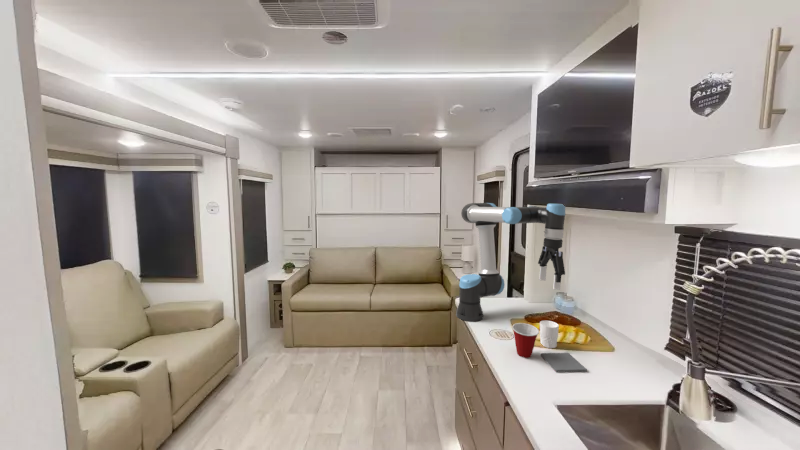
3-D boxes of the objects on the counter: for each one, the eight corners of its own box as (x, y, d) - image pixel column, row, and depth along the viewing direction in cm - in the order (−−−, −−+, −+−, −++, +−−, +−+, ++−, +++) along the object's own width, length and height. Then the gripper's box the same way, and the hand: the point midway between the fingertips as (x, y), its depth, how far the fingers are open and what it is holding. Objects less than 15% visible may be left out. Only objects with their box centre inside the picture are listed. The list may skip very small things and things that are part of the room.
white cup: (547, 350, 139) (548, 328, 138) (535, 342, 147) (535, 321, 146) (561, 347, 141) (562, 326, 140) (549, 340, 149) (549, 319, 148)
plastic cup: (520, 362, 128) (521, 334, 127) (506, 350, 139) (507, 324, 138) (543, 360, 130) (544, 332, 129) (528, 347, 141) (529, 322, 140)
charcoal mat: (540, 355, 134) (540, 353, 134) (568, 355, 134) (568, 352, 134) (556, 372, 121) (556, 369, 121) (586, 371, 122) (587, 369, 121)
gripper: (533, 234, 152) (529, 276, 154) (559, 242, 127) (554, 293, 129) (548, 234, 152) (544, 277, 154) (577, 243, 127) (572, 293, 129)
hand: (549, 284), depth 142 cm, fingers open, 13 cm apart
